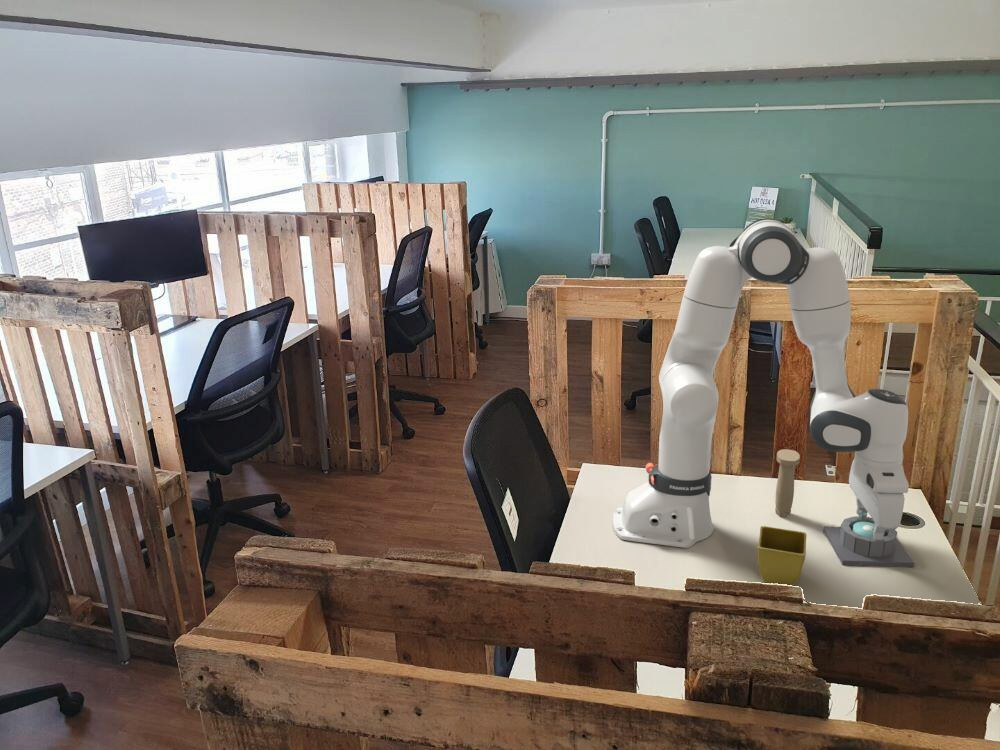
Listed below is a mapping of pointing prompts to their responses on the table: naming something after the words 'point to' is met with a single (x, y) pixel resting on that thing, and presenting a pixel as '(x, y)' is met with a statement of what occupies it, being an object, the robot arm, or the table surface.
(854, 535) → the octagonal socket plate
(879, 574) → the table surface
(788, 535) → the flower pot
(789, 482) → the handle
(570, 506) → the table surface
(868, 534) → the teal rounded cylinder
